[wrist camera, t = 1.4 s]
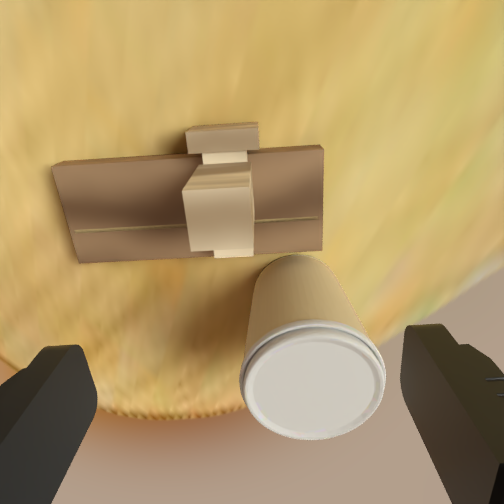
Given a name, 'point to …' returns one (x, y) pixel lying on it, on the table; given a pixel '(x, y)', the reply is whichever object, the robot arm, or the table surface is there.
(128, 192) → the board
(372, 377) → the coffee cup
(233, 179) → the beige stepped block
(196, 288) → the table surface
